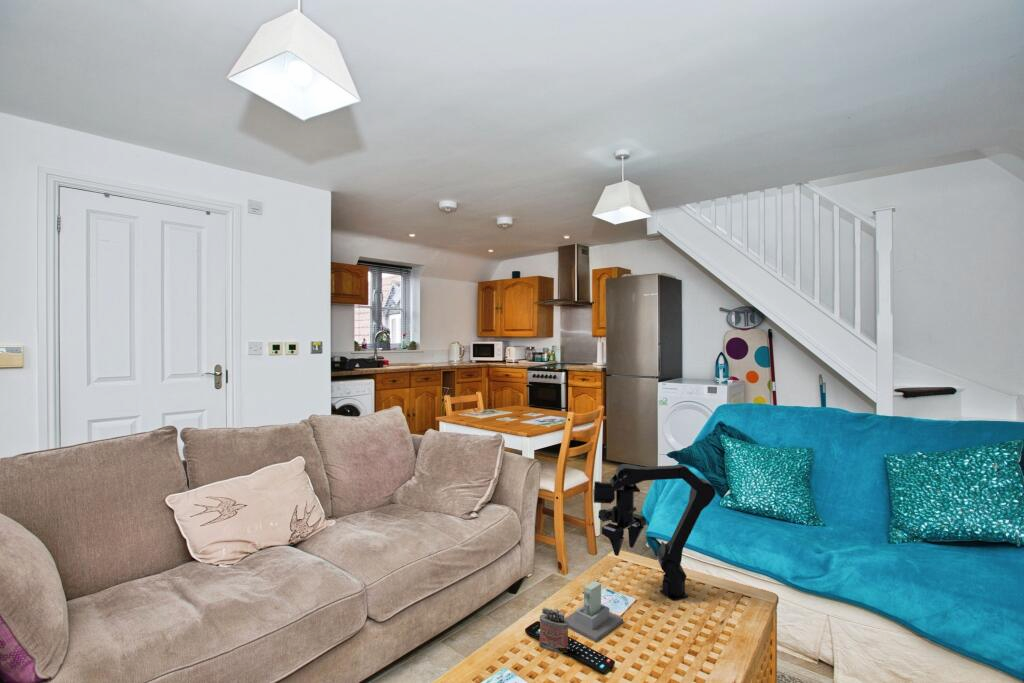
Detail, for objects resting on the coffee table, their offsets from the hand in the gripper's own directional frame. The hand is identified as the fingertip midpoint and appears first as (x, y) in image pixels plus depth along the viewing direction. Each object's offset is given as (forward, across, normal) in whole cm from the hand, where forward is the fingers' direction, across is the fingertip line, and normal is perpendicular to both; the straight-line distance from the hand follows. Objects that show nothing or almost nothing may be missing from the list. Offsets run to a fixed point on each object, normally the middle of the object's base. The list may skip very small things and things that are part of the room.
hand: (624, 551), depth 162 cm
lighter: (+13, +40, +3) cm, 42 cm away
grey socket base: (+13, +23, +4) cm, 27 cm away
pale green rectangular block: (+12, +23, +4) cm, 26 cm away
